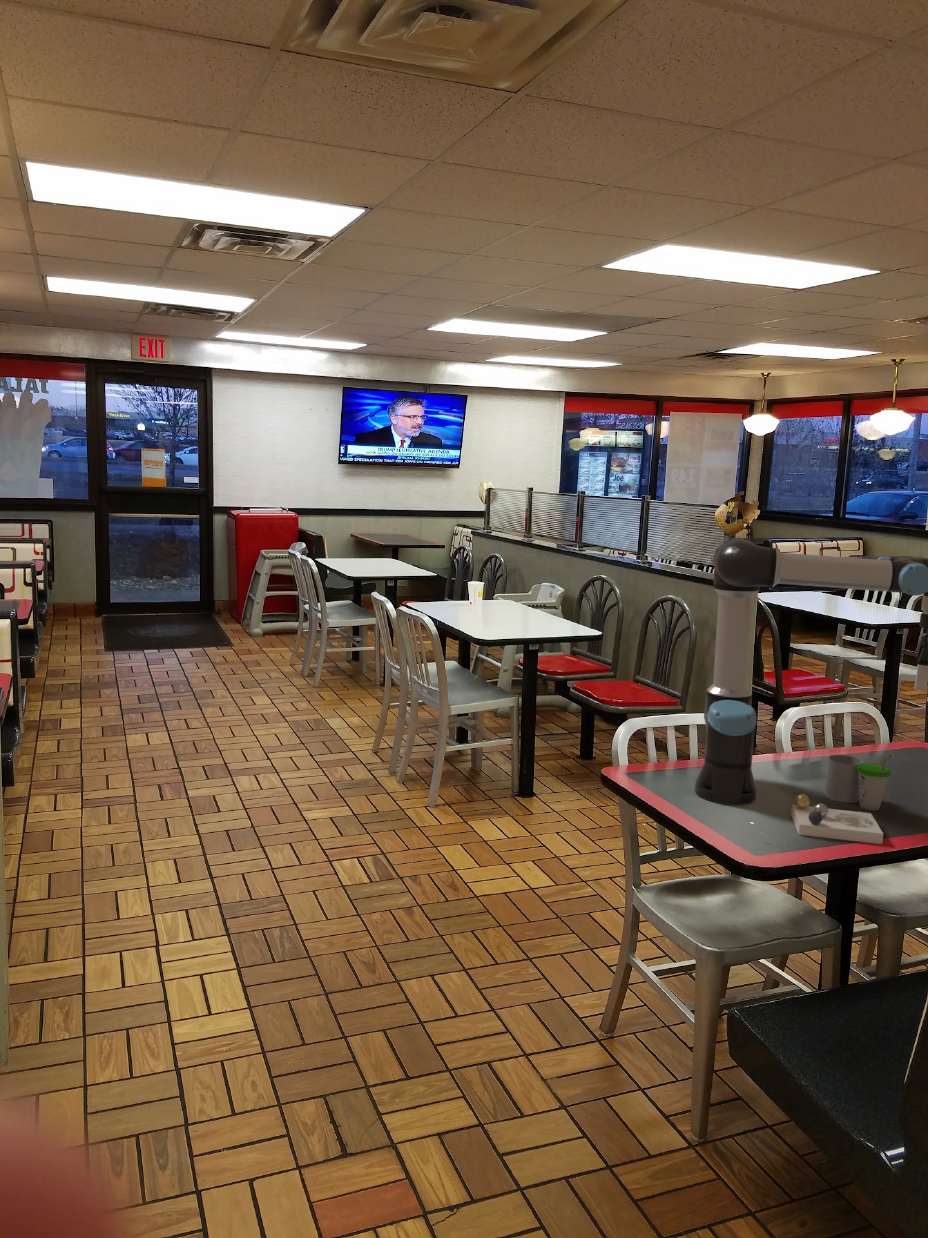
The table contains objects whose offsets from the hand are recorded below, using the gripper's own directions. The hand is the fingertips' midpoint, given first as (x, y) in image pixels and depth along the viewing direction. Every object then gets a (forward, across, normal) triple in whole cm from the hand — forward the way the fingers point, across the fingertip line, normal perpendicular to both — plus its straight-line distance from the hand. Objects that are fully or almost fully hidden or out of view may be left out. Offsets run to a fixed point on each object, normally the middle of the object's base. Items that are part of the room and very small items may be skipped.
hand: (926, 695), depth 237 cm
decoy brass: (+23, -25, +30) cm, 46 cm away
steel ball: (+24, -29, +27) cm, 46 cm away
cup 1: (+28, -5, +18) cm, 34 cm away
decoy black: (+24, -34, +29) cm, 51 cm away
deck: (+28, -29, +23) cm, 47 cm away
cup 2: (+28, -11, +13) cm, 32 cm away
